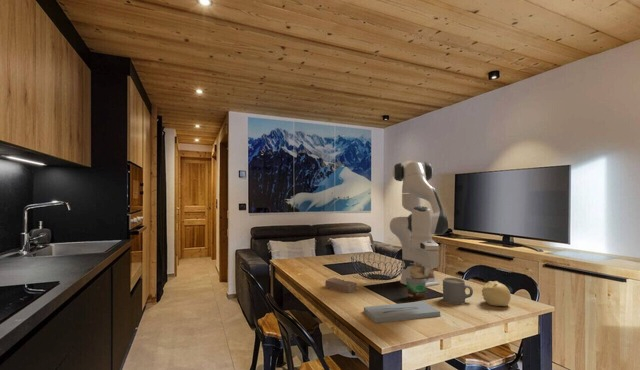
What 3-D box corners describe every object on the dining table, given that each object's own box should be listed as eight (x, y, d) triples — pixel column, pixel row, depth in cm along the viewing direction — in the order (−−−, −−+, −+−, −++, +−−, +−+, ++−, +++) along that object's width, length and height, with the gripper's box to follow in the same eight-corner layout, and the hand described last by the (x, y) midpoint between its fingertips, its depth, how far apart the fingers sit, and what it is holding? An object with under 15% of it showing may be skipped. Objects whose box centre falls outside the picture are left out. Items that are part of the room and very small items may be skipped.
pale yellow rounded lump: (483, 298, 159) (483, 277, 159) (511, 303, 152) (511, 280, 152) (480, 305, 149) (479, 282, 150) (509, 310, 142) (509, 286, 143)
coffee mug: (441, 301, 154) (440, 281, 155) (445, 296, 163) (445, 276, 163) (471, 306, 147) (470, 285, 147) (474, 300, 155) (473, 280, 156)
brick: (357, 290, 174) (357, 281, 174) (349, 294, 168) (349, 285, 168) (333, 284, 185) (333, 276, 185) (324, 288, 178) (324, 279, 178)
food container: (414, 301, 155) (414, 280, 156) (405, 297, 161) (405, 277, 161) (432, 297, 161) (432, 277, 161) (423, 293, 167) (423, 274, 167)
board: (423, 305, 149) (423, 301, 149) (440, 316, 136) (440, 311, 136) (363, 311, 142) (363, 306, 142) (375, 322, 129) (375, 317, 129)
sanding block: (428, 275, 145) (427, 264, 145) (433, 278, 141) (433, 266, 141) (410, 276, 143) (410, 265, 143) (415, 279, 139) (415, 267, 139)
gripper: (404, 239, 152) (404, 268, 151) (428, 246, 132) (428, 280, 131) (415, 239, 153) (416, 268, 153) (441, 246, 133) (442, 279, 133)
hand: (422, 273), depth 142 cm, fingers closed on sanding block, 4 cm apart
